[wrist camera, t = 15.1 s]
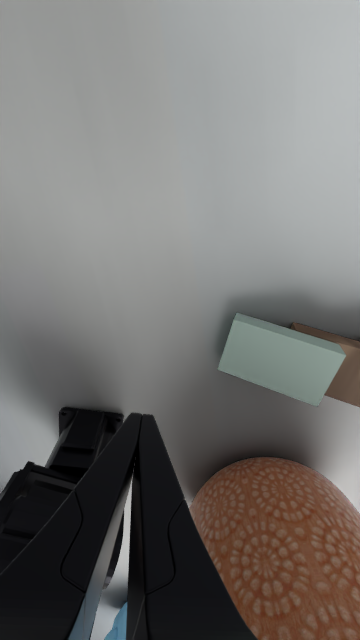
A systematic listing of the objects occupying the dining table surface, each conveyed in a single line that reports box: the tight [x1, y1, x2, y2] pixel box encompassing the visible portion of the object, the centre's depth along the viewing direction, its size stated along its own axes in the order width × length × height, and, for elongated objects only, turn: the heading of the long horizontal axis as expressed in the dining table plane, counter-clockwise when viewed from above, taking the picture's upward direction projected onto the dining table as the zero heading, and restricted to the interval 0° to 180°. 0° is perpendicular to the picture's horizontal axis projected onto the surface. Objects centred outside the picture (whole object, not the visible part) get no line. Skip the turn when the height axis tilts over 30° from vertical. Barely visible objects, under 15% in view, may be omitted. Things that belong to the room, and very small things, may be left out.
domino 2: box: [290, 322, 360, 407], centre depth 22 cm, size 2×5×8 cm
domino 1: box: [217, 313, 346, 407], centre depth 21 cm, size 2×5×8 cm
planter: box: [189, 457, 360, 640], centre depth 23 cm, size 21×21×19 cm
